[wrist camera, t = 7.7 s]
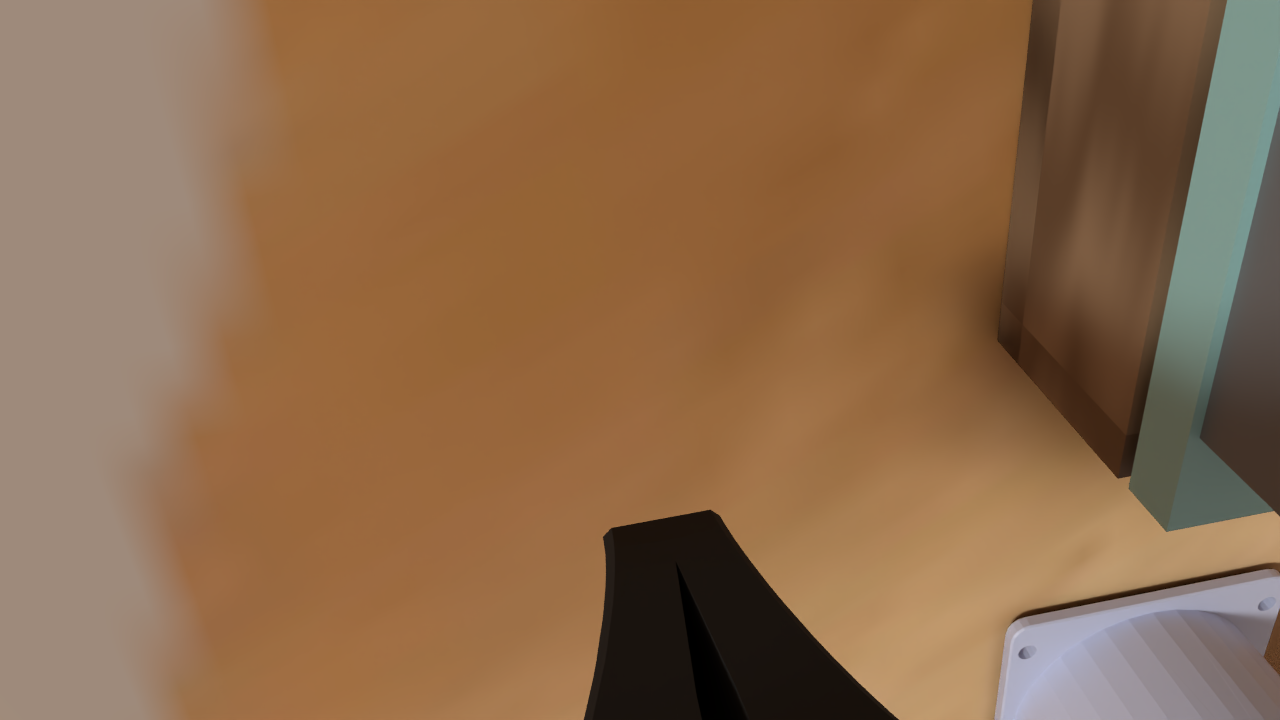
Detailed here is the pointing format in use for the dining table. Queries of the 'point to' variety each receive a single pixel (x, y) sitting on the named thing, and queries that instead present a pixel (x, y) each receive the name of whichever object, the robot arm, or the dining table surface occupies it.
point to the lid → (1223, 301)
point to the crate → (1103, 202)
